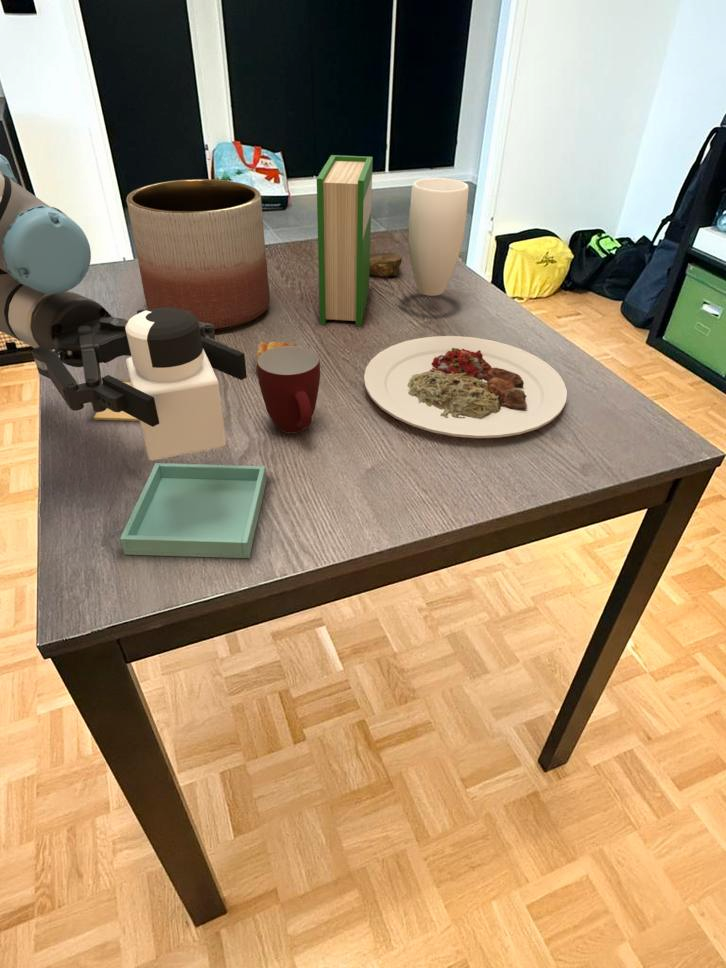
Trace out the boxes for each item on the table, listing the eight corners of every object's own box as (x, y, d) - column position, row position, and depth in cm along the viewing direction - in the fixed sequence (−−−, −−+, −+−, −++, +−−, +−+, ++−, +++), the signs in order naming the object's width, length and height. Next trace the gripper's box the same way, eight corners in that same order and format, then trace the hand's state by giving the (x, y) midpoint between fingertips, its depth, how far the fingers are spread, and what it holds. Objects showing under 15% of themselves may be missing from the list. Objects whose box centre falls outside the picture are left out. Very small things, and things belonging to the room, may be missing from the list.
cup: (395, 312, 116) (403, 188, 103) (410, 292, 124) (418, 174, 111) (450, 320, 114) (464, 194, 101) (461, 299, 122) (476, 180, 108)
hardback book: (360, 326, 111) (363, 180, 96) (319, 323, 112) (316, 178, 97) (368, 289, 125) (372, 156, 110) (332, 287, 125) (331, 155, 110)
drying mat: (94, 419, 86) (93, 417, 85) (117, 383, 93) (117, 381, 93) (181, 422, 86) (180, 419, 85) (197, 386, 93) (197, 383, 93)
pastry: (317, 357, 101) (317, 336, 99) (315, 378, 96) (314, 356, 94) (260, 356, 101) (258, 335, 99) (254, 377, 96) (252, 354, 94)
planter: (277, 289, 124) (270, 180, 111) (261, 338, 107) (250, 215, 94) (166, 286, 124) (147, 176, 111) (132, 334, 107) (105, 211, 94)
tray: (124, 554, 66) (119, 538, 64) (159, 477, 76) (155, 462, 74) (249, 558, 66) (247, 542, 64) (266, 481, 76) (265, 465, 74)
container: (212, 409, 69) (195, 295, 61) (227, 447, 63) (211, 327, 55) (139, 422, 66) (112, 305, 58) (149, 462, 61) (120, 339, 53)
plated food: (416, 466, 79) (418, 445, 77) (335, 362, 100) (335, 343, 98) (607, 422, 88) (614, 402, 86) (495, 335, 110) (498, 317, 107)
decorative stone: (349, 275, 131) (349, 258, 129) (357, 260, 138) (357, 244, 136) (398, 279, 130) (399, 262, 128) (404, 264, 137) (405, 247, 135)
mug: (341, 440, 83) (341, 373, 77) (287, 458, 80) (282, 390, 73) (304, 404, 90) (301, 340, 84) (252, 419, 86) (246, 354, 80)
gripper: (153, 323, 78) (284, 378, 68) (-28, 395, 64) (105, 477, 54) (142, 264, 74) (281, 312, 64) (-56, 326, 59) (83, 402, 49)
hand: (200, 388), depth 59 cm, fingers closed on container, 10 cm apart
